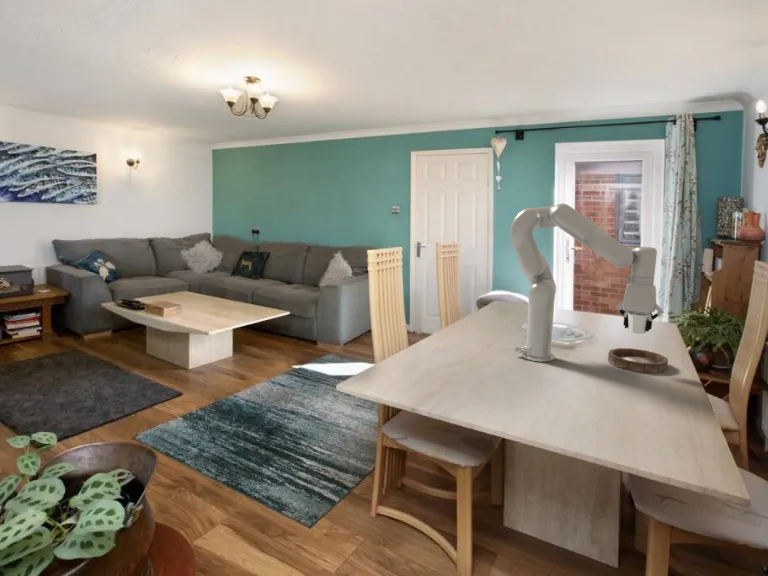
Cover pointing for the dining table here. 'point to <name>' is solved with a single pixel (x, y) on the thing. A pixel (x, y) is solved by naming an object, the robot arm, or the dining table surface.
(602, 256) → the robot arm
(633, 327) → the white cup
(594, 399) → the dining table surface
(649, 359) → the round wooden tray
